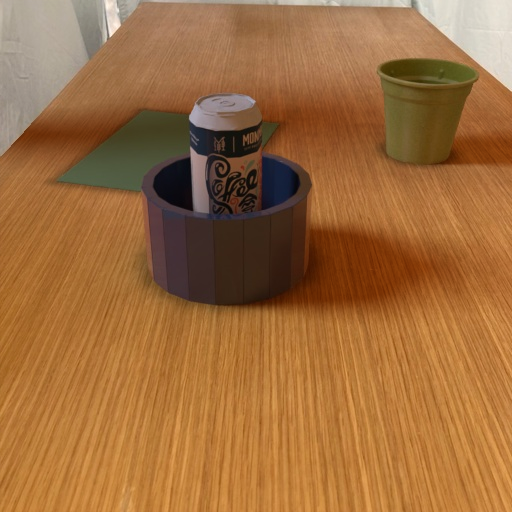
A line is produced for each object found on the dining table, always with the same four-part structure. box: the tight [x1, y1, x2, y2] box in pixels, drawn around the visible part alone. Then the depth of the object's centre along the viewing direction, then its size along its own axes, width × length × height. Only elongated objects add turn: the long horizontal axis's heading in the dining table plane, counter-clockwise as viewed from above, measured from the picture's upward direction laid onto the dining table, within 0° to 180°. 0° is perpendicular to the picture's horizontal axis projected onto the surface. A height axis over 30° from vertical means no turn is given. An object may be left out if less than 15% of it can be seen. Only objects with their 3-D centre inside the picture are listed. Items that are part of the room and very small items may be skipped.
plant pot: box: [376, 57, 480, 165], centre depth 67 cm, size 9×9×9 cm
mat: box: [55, 109, 280, 193], centre depth 69 cm, size 16×20×1 cm
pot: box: [140, 151, 313, 306], centre depth 49 cm, size 12×12×7 cm
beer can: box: [189, 92, 263, 214], centre depth 48 cm, size 5×5×12 cm
